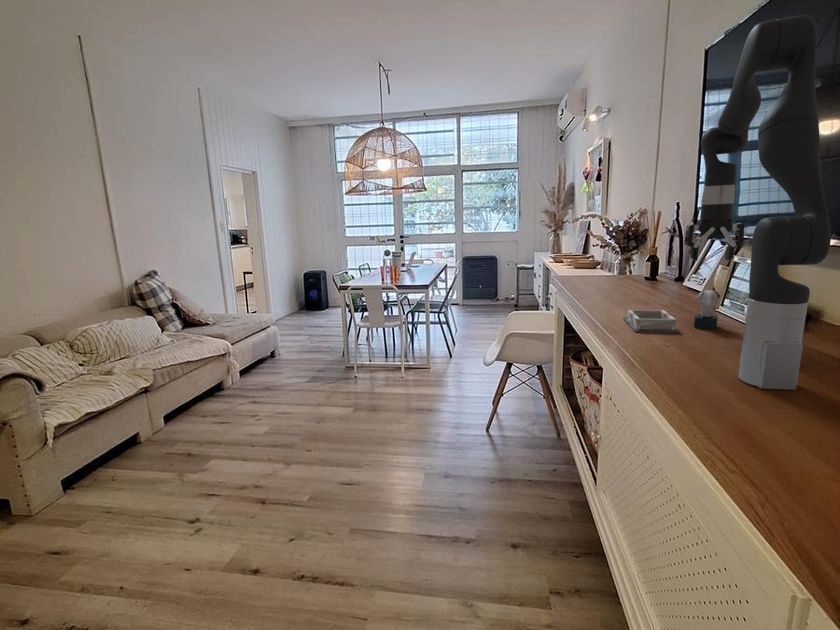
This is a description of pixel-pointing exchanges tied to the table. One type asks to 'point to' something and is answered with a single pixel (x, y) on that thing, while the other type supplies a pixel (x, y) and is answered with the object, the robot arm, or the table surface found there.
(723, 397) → the table surface
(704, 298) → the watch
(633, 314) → the holder
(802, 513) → the table surface
